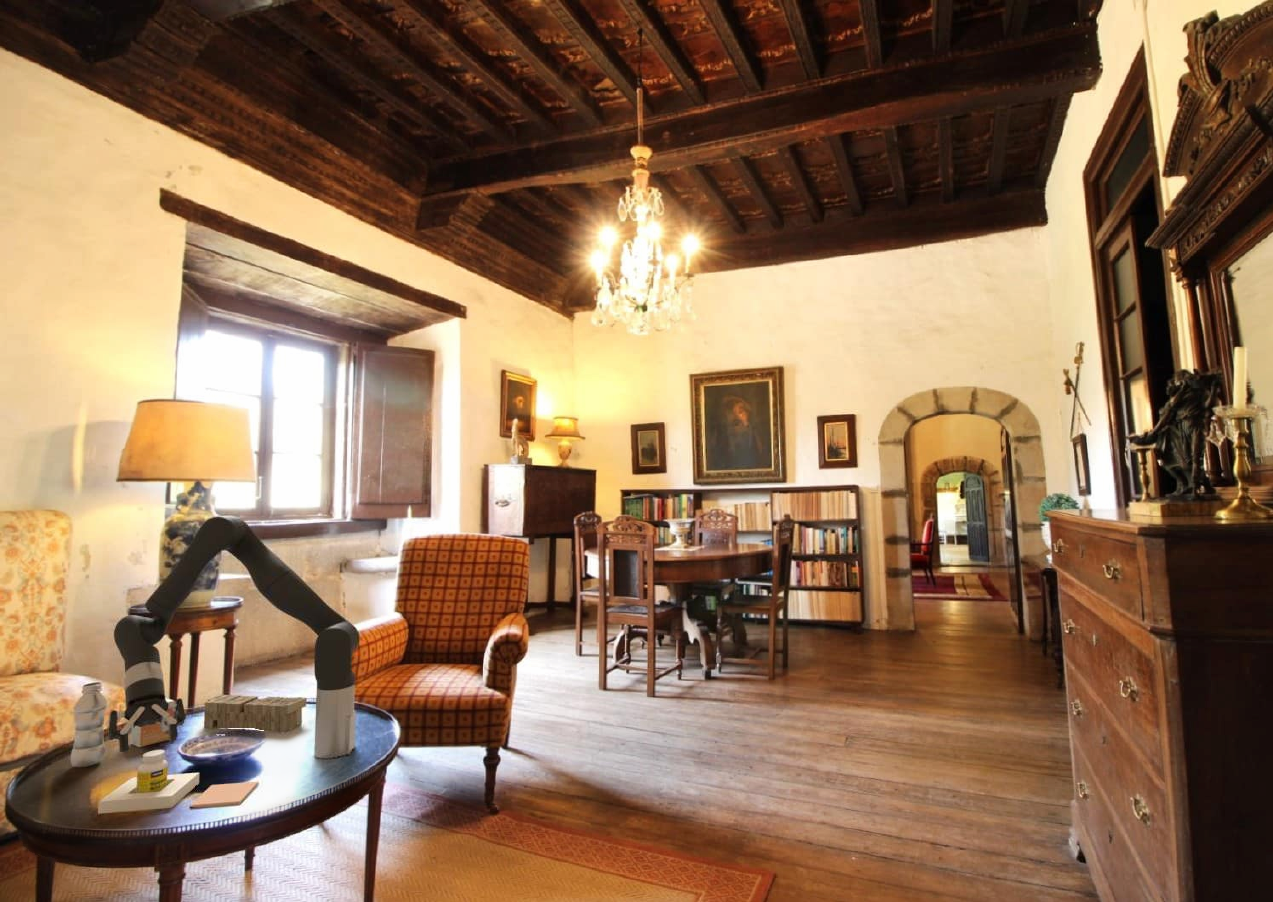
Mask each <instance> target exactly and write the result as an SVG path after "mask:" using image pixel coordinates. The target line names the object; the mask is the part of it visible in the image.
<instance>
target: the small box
mask: <svg viewBox="0 0 1273 902" xmlns="http://www.w3.org/2000/svg"><path fill="white" fill-rule="evenodd" d="M165 699H166V701H167V702H168V703H171V702H175V700H173V699H170V698H167V697H165ZM166 712H167V713H169V714H170V716H171V717H173V718H174V719H175V711H172V709H171V708H168V710H167V711H166ZM168 730H169V728H167V727H166V726H163V725H161V724H159V723H158V722H156V723H155V724H152V725H145V726H142V727H139V726H135V727H134V729H133V730H132V731H131V736H130V737H131V738H130V739H131V740H130V744H131V745H134V746H136V747H138V748H142V747H145V746H150V745H153V744H157V743H161V742H166V741H169V733H168Z"/></svg>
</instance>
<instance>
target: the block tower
mask: <svg viewBox="0 0 1273 902" xmlns="http://www.w3.org/2000/svg"><path fill="white" fill-rule="evenodd" d="M306 707H307V698H306V697H302V696H300V697H299V696H298V697H285V696H284V697H281V696H266V697H263V698H260V699H259V696H257V695H242V694H241V695H239V694H238V695H237V694H227V695H226V694H219V695H216V696H214V697H211V698H208V699H207V701H205V702H204V713H203V714H204V715H203V716H204V718H203V719H204V721H203V729H215V728H216V729H217V728H255V729H259V730H264V731H272V732H271V733H286V732H288V731H290V730H291V729H290V728H292V729H294V728H295V727H297V726H299V725H302V723H303V708H306ZM289 729H290V730H289ZM287 730H288V731H287ZM285 731H286V732H285Z"/></svg>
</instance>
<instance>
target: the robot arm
mask: <svg viewBox="0 0 1273 902" xmlns="http://www.w3.org/2000/svg"><path fill="white" fill-rule="evenodd" d="M222 551H227V552H228V553H229V554H231V555H232V556H234V558H235V559H237V560H238V561H239V562H240V563H241V564H242V565H243V566H244V567H245V569H246V570H247V571H248V573H249V576H250V578H251V579H252V582H253V584H254V586H255V588H256V590H257V591H258V592H259V593H260V594H261V596H263V597H264V598H265V599H266V600H267V601H268V602H269V603H270V604H271V605H272V606H274V607H275V608H276V609H278V610H279V611H280V612H282V613H284V614H286V615H288V616H290V617H291V618H294V619H296V620H298V621H299V622H301V623H303V624H304V625H306V626H307V627H309V628H310V629H311V630H312V631H313V632H314V633H315V634H316V636H317V637H316V639H315V643H314V652H313V653H314V656H313V657H314V659H313V660H314V661H313V663H314V666H313V667H314V671H313V672H314V677H315V680H316V696H315V698H316V700H315V723H314V724H315V725H314V728H315V729H314V747H313V748H314V757H316V758H318V759H334V758H333V757H335V758H338V757H337V756H340V757H343V756H347V755H346V754H349V755H350V754H351V753H352V751H353V750H352V749H354V748H355V747H356V746H355V745H356V722H357V721H356V720H357V716H356V715H357V711H356V710H355V687H356V686H355V685H356V674H355V672H354V671H353V669H352V653H353V652H355V651H356V650H357V648H358V646H359V645H360V641H361V637H360V633H359V630H358V628H357V627H355V625H354V624H353V623H351V622H350V621H349V620H347V619H346V618H345V617H344V616H342V615H341V614H339V613H338V612H337V611H336V610H334V609H333V608H332V607H330V606H329V604H327V603H326V602H325V601H324V600H323V599H322V598H321V596H320V595H319V594H317V592H315V591H314V589H312V588H311V587H310V586H309V584H307V583H306V581H304V580H303V579H302V577H301V576H300V575H298V574H297V573H296V572H295V571H294V570H293V569H292V568H291V567H290V566H288V565H287V564H286V563H285V562H284V561H283V560H282V559H281V557H279V556H278V555H276V554H275V553H274V552H273V551H272V550H271V549H270V548H268V547H267V546H266V545H265V543H264V542H263V541H261V539H260V538H259V537H258V535H257V534H256V532H254V530H253V529H252V527H250V525H249V524H248V523H247V522H246V521H245V520H244V519H242V518H240V517H238V516H235V515H217V516H216V515H215V516H212V517H210V518H208V519H207V520H205V521H204V522H203V523H202V524H201V526H200V527H199V529H198V531H197V532H196V533H195V535H194V537H193V539H192V540H191V542H190V544H189V545H188V547H187V549H186V550H185V552H184V553H183V555H182V556H181V558H180V559H179V560H178V562H177V563H176V564H175V567H174V568H173V569H172V570H171V571H170V572H169V574H168V575H167V576H166V577H165V579H164V580H163V581H162V582H161V583H160V585H158V587H157V588H156V589H155V591H154V592H152V594H151V595H150V596H149V598H147V600H146V601H145V605H144V607H145V609H146V610H147V611H148V613H150V614H152V616H153V615H154V616H153V617H152V618H150V617H144V616H141V615H134V614H130V615H126V616H124V617H122V618H121V619H120V620H119V621H117V623H116V624H115V627H114V629H113V639H114V643H115V645H116V647H117V649H118V651H119V654H120V655H121V658H122V659H123V661H124V674H125V675H124V676H125V677H124V686H123V687H124V688H123V689H124V694H125V695H124V697H125V710H124V711H117V710H115V709H113V710H111V711H110V713H109V717H108V735H107V736H108V737H107V739H108V740H110V741H112V740H118V743H119V744H118V747H119V748H118V749H119V752H120V753H123V754H122V755H127V754H128V753H129V750H130V748H129V747H130V746H129V745H130V744H129V734H130V733H132V730H133V729H134V727H135V726H139V727H142V726H145V725H152V724H155V723H156V722H158V723H159V724H161V725H163V726H166V727H167V728H169V730H168V733H169V740H168V741H169V745H172V744H174V743H175V741H177V739H178V727H179V726H183V725H184V723H185V720H186V711H185V708H184V707H185V706H184V702H183V699H182V698H177V699H176V701H175V700H174V701H175V702H171V703H168V702H167V701H166V699H165V698H166V692H165V683H164V680H165V679H164V673H163V670H162V667H161V666H162V665H161V657H160V655H161V654H160V651H159V649H158V647H156V646H155V645H156V644H158V643H159V642H161V640H162V639H163V638H164V636H165V634H166V633H167V629H168V627H169V625H170V624H171V621H172V619H173V617H174V614H175V613H176V612H177V611H178V609H179V608H180V607H181V606H182V604H183V603H184V602H185V601H186V599H188V597H189V596H190V595H191V593H192V592H193V590H194V589H195V586H196V584H197V582H198V580H199V577H200V576H201V575H202V572H204V571H203V570H204V569H205V568H206V567H207V565H208V564H209V563H210V562H211V561H212V560H213V559H214V558H215V557H216V556H217V555H219V554H220V553H221V552H222ZM168 708H171V709H172V711H174V713H175V717H176V718H175V717H174V718H173V717H171V716H170V714H169V713H167V712H166V711H167V710H168ZM122 718H124V719H125V720H127V722H126V724H125V725H124V726H123V727H122V729H121V730H118V729H117V728H118V722H120V721H121V719H122ZM354 746H355V747H354ZM350 752H351V753H350ZM342 755H343V756H342Z"/></svg>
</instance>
